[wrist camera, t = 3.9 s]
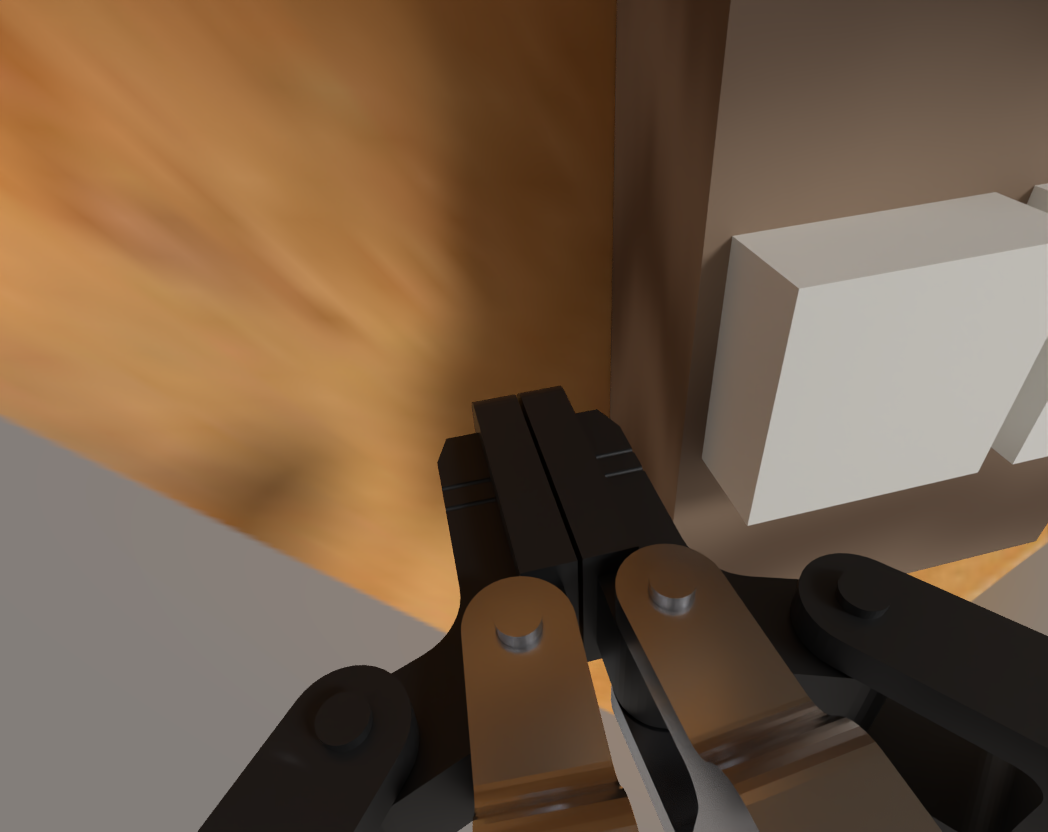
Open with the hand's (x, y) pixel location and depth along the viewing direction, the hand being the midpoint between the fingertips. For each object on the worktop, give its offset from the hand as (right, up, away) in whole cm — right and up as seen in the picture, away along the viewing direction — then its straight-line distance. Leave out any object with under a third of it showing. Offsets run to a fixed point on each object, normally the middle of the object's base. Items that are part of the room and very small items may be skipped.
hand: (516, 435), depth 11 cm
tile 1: (+6, +2, +2) cm, 7 cm away
